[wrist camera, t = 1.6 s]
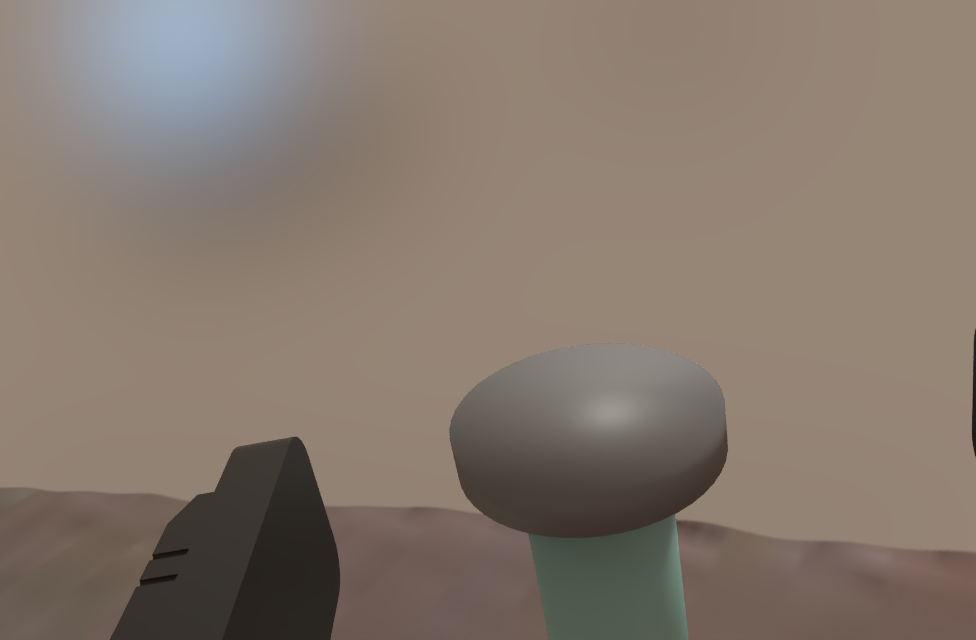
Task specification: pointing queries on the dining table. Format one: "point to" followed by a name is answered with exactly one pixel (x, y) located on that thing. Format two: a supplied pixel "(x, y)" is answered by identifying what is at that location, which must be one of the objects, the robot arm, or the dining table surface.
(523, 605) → the dining table surface
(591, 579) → the wheel peg
